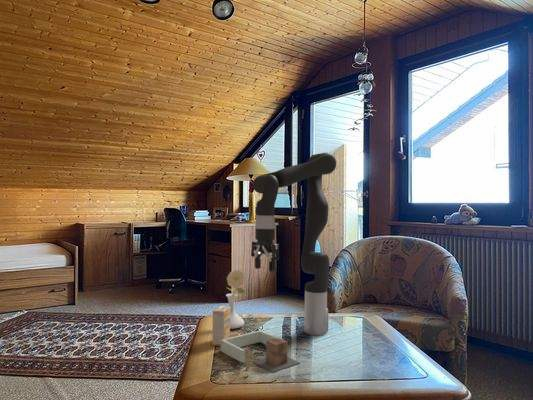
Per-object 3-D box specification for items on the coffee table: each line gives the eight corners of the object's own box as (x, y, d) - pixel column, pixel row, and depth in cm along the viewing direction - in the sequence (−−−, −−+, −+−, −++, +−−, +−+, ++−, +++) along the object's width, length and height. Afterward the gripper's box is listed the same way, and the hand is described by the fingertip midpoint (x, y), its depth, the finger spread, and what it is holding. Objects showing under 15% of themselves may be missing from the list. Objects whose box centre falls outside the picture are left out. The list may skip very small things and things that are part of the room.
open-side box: (260, 340, 155) (260, 330, 155) (283, 350, 145) (283, 339, 145) (220, 351, 144) (220, 339, 144) (242, 362, 133) (242, 350, 134)
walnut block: (277, 358, 137) (277, 337, 137) (287, 362, 133) (287, 341, 133) (266, 361, 134) (266, 340, 134) (275, 366, 130) (276, 344, 130)
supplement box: (224, 346, 148) (224, 311, 149) (211, 345, 149) (212, 310, 150) (230, 339, 157) (230, 305, 157) (218, 338, 158) (219, 305, 158)
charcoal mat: (280, 354, 141) (280, 353, 141) (299, 363, 134) (299, 362, 134) (253, 362, 134) (253, 361, 134) (272, 372, 126) (272, 371, 126)
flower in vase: (212, 327, 171) (213, 269, 171) (229, 321, 180) (230, 266, 181) (236, 333, 163) (236, 272, 164) (252, 326, 173) (253, 269, 173)
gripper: (284, 228, 149) (284, 271, 149) (261, 226, 160) (260, 266, 160) (269, 228, 144) (268, 273, 144) (246, 226, 156) (245, 268, 155)
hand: (264, 269), depth 152 cm, fingers open, 8 cm apart
